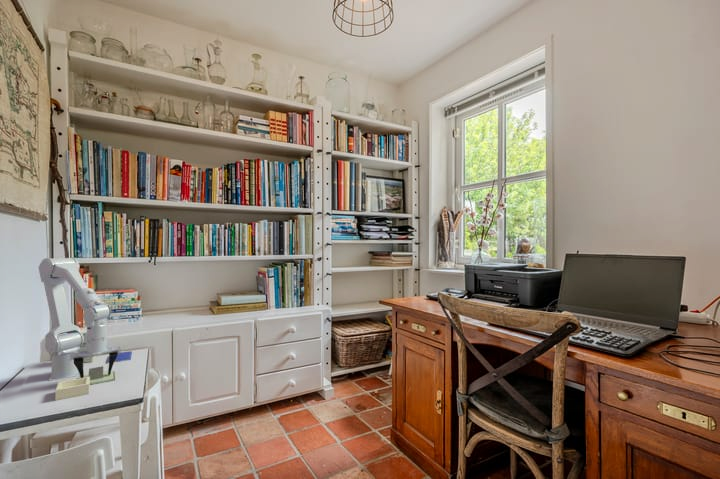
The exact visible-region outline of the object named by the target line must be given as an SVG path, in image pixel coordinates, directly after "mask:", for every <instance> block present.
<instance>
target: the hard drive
mask: <svg viewBox="0 0 720 479" xmlns="http://www.w3.org/2000/svg"><path fill="white" fill-rule="evenodd" d="M132 355H133V351H132V350H129V351H123V352H122V351H121V353H118V356H117V358H116V360H115V362H114V363H119V362H126V361H131V360H132V357H133V356H132ZM106 364H108V365H109V357H108V358H107V361H106Z"/></svg>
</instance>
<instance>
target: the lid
mask: <svg viewBox="0 0 720 479" xmlns="http://www.w3.org/2000/svg"><path fill="white" fill-rule="evenodd" d="M113 371H114V370H113V369H111V374H110V375H108V370H107V371H104V366H103V365H102V366H96V367H92V368H88V374H84V377H90V386H92V385H91V384H94V385H97V384H96V383H99V384H102V383H101V382H104V383H107V382H106V381H110V382H113V381H112V380H113ZM77 378H78V379H79V378H80V375H78V377H77Z"/></svg>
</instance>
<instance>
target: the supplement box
mask: <svg viewBox="0 0 720 479" xmlns="http://www.w3.org/2000/svg"><path fill="white" fill-rule="evenodd" d="M80 331H81V333H82V334H83V336H84V342H83V345H82V346H81V347H80V349H79V350H78V352H82V351H86V341H87V328H86V329H85V328H84V329H80ZM97 358H98V356H93V357H87V358H84V359H83V364H84V363H93V361H95V360H96V359H97Z"/></svg>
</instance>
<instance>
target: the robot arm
mask: <svg viewBox="0 0 720 479" xmlns="http://www.w3.org/2000/svg"><path fill="white" fill-rule="evenodd" d="M80 266H81V265H80V263H79V261H78V259H76V258H75V257H62V258H61V257H58V258H50V257H46V258H43V259H42V260H41V262H40V263H39V266H38V272H39V278H40V282H41V283H43V286H44V292H45V297H46V300H47V305H48V306H47V307H48V310H49V314H50V320H51V325H52V329H50V331H48V333H46V335H44V336H45V343H44V348H45V351H46V352H47V353H48V354H49V355H51V374H50V376H49V378H48V382H53V381H58V380H64V379H68V378H73V377H79V376H80V378H84V375H85V373H84V363H83V359H84V358H87V357H93V356H97V357H99V356H105V355H108V358H109V363H108V368H107V369H108V370H107V371H108V375H110V374H111V371H112V370H113V369H112V368H113V366H114V363H116V362H115V360H116V358H117V356H118V353H122V346H112V347H107V344H108V343H107V342H108V341H107V337H108V336H107V335H108V334H107V333H108V331H107V330H108V328H107V327H108V319H109V318H110V317H111V314H112V309H111V306H110V305H109V303H105V302H104V301H101V298H99V296H98V295H97V293H96V292H95V290H94V289H93V288H89V287H87V284H86V282H85V281H84V279H83V277H82V275H81V273H80ZM65 282H67V283H68V285H69V286H70V287H71V289H72V290H74V292H75V296H74V299H75V300H76V302H77V304H78V305H79V307H80V308H81V309H82V311H83V312H82V319H83V321H84V326H85V328H86V329H87V341H86V351H82V352H78V350H79V349H80V347H81V346H82V345H83V342H84V336H83V334H82V333H81V331H80V330H81V329H80V327H79V326H78V325H76V324H73V323H72V318H71V316H70V309H69V306H68V300H67V297H66V296H67V295H66V292H65V287H64V284H65Z"/></svg>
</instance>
